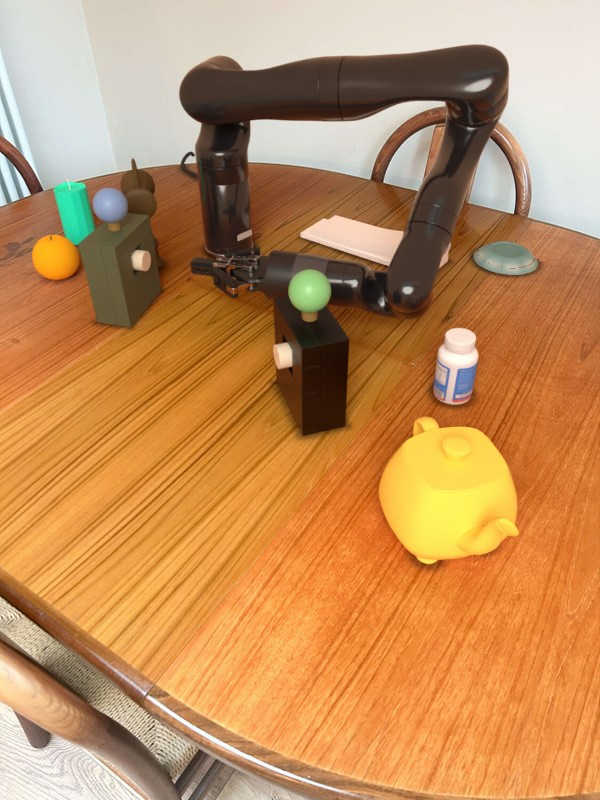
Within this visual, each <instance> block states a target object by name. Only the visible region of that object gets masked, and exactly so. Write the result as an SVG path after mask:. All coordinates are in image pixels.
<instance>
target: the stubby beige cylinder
mask: <svg viewBox="0 0 600 800" xmlns="http://www.w3.org/2000/svg"><path fill="white" fill-rule="evenodd" d="M272 353H273V359H274V363H275V367H276V366H277V368H278V369H283V368H288V367H292V349H291V348H290V346H289V344H288V342H286V343H281V344H276V345H275V344H274V345H273V347H272Z"/></svg>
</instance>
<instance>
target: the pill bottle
mask: <svg viewBox="0 0 600 800" xmlns="http://www.w3.org/2000/svg"><path fill="white" fill-rule="evenodd" d="M443 342H444V343H442V345H440V346H439V347H438V349H437V356H436V362H435V370H434V378H433V385H432V393H433V396H434V398H436V399H437V400H438V401H440V402H441V403H442V404H443V403H444V404H446V405H450V406H451V405H453V406H459V405H463V404H465V403H467V402H469V401H470V399H471V398H472V395H473V390H474V386H475V381H476V376H477V375H476V374H477V369H478V363H479V351H478V349H477V348H476V342H477V336H476V334H475V333H474V332H473V331H472V330H470V329H468V328H464V327H454V328H451V329H448V330H447V331H446V332H445V334H444V340H443Z"/></svg>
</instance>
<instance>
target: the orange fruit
mask: <svg viewBox="0 0 600 800" xmlns="http://www.w3.org/2000/svg"><path fill="white" fill-rule="evenodd" d="M31 257H32V258H31V259H32V260H31V261H32V265H33V267H34V268H35V271H37V272H38V274H40V275H41V276H42V277H43V278H45V279H47V280H54V281H59V280H60V281H61V280H65V279H68V278H69V277H71V276H73V275H75V273H76V272H77V270H78V269H79V267H80V261H81V259H80V253H79V250H78V248H77V245H74V244H73V243H72V242H71V241H70V240H69V239H67V238H65V236H63V235H61V234H60V235H59V234H49V235H45V236H42V237H41V238H40V239H38V241H36V243H35V245H34V246H33V248H32V252H31Z"/></svg>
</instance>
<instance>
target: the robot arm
mask: <svg viewBox="0 0 600 800" xmlns="http://www.w3.org/2000/svg"><path fill="white" fill-rule="evenodd" d="M507 58H508V57H506V55H505V54H504V53H503V52H502V51H501V50H500V49H498V48H496V47H495V46H492V45H488V44H479V43H475V44H463V45H455V46H450V47H449V46H448V47H442V48H437V49H436V48H435V49H432V50H423V51H416V52H415V51H414V52H406V53H405V52H404V53H386V54H372V55H370V54H369V55H327V56H325V55H324V56H316V57H310V58H305V59H300V60H295V61H291V62H287V63H283V64H279V65H275V66H270V67H267V68H262V69H248V70H247V69H243V66H241V64H240V63H239V62H238V61H237V60H235V59H233V58H232V57H230V56H228V55H215V56H212V57H209V58H207V59H206V60H204V61H201V62H200V63H198V64H197V65H195V66H194V67H192V68H191V69H189V71H187V72H186V74H185V75H184V76H183V79H182V80H181V82H180V85H179V90H178V97H179V102H180V105H181V107H182V109H183V110H184V112H185V113H186V114H187V115H188V116H189V117H190V118H191V119H193V120H194V121H196V122H198V123H200V129H199V134H198V135H197V139H196V142H195V143H194V152H193V151H188V152H187V153H185V154H184V155H183V157H182V159H181V161H180V168H181V170H182V171H183V172H185V173H186V174H188V175H190V176H192V177H194V178H196V179H197V182H198V183H197V184H198V192H199V200H200V208H201V209H200V210H201V219H202V228H203V239H204V251H205V253H206V254H207V255H208V256H210V257H213V258H210V257H209V258H208V257H199V256H194V258H192V260H191V261H190V262H189V264H190V265H189V266H190V272H191V273H192V274H193V275H199V276H200V275H201V276H205V277H206V276H208V277H212V279H213V285H214V286H215V287H216V288H217V289H218V290H220V291H221V292H222V293H224V294H225V295H227V296H228V297H229V298H230V299H237V298H239V293H240V292H243V291H246V292H252V293H253V292H262V293H263V294H264V295H265V297H266V298H267V300H269V301H273V299H274V298H280V297H285V296H289V294H288V288H289V284H290V282H291V280H292V278H293V277H294V276H295V275H296V274H297V273H299V272H300V271H303V270H307V269H312V270H317V271H319V272H321V273H322V274H324V275H325V276H326V278H327V279H328V281H329V283H330V286H331V296H330V299H329V302H328V303H327V305H326V306H327V307H334V308H335V307H336V308H343V309H355V310H360V311H363V312H364V311H365V312H367V313H371V314H375V315H379V316H382V317H387V318H390V319H397V320H415V319H417V318H420V317H422V316H424V314H426V313H427V312H428V310H429V309H430V308H431V306H432V303H433V300H434V299H433V298H434V286H435V282H436V280H437V276H438V272H439V269H440V268H439V266H440V263H441V260H442V256H443V255H444V254H445V253H446V251H447V249H448V247H449V245H450V243H451V242H452V239H453V237H454V233H455V231H456V228H457V225H458V222H459V219H460V215H461V212H462V209H463V206H464V203H465V199H466V197H467V193H468V190H469V186H470V184H471V181H472V178H473V175H474V173H475V170H476V167H477V165H478V163H479V161H480V159H481V156H482V154H483V152H484V150H485V148H486V146H487V144H488V142H489V141H490V138H491V136H492V134H493V132H494V131H495V129H496V127H497V124H498V123H499V121H500V119H501V118H502V116H503V113H504V111H505V109H506V107H507V105H508V101H509V92H510V91H509V89H510V88H509V87H510V65H509V61H508V59H507ZM410 102H444V106H445V110H446V117H445V123H444V128H443V134H442V139H441V142H440V146H439V150H438V152H437V154H436V157H435V159H434V162H433V163H432V166H431V167H430V169H429V170H428V172H427V174H426V175H425V177H424V179H423V180H422V182H421V184H420V186H419V188H418V190H417V192H416V195H415V197H414V199H413V202H412V205H411V208H410V211H409V214H408V216H407V220H406V223H405V225H404V228H403V231H404V233H403V237H402V240H401V241H400V243H399V245H398V247H397V249H396V251H395V253H394V256H393V258H392V260H391V262H390V265H389V266H387V270H386V271H383V270H377V269H373V268H371V267H370V266H368V265H367V264H366V263H364V262H361V261H358V260H352V259H344V258H335V257H328V256H323V255H321V254H314V253H307V252H298V251H289V250H281V249H273V250H271V251H270V252H269V254H268V255H265V254H262V253H261V247H260V246H254V239H253V238H254V236H253V219H252V218H253V217H252V203H251V202H252V200H251V186H250V184H251V183H250V171H249V170H250V169H249V145H250V142H251V133H252V132H251V121H263V120H264V121H265V120H267V121H289V122H324V123H325V122H327V123H328V122H332V123H334V122H336V123H338V122H357V121H361V120H364V119H368V118H369V117H373V116H375V115H377V114H379V113H382V112H383V111H385V110H388V109H389V108H392V107H395V106H397V105H400V104H404V103H410ZM189 157H192V158H193V157H195V165H196V172H195V171H192V170H190V169H188V168H186V166H185V163H186V161H187V160H188V158H189Z"/></svg>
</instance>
